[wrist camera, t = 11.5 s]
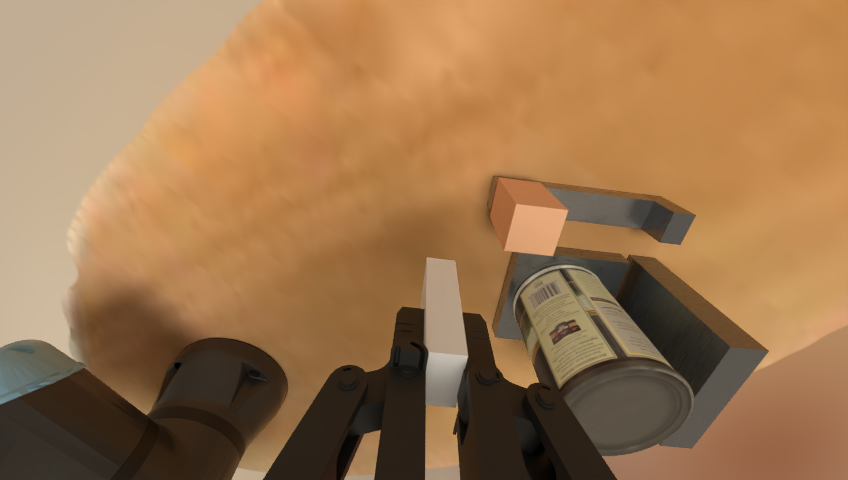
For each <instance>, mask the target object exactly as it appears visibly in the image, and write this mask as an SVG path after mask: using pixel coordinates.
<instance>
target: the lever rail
mask: <svg viewBox="0 0 848 480" xmlns="http://www.w3.org/2000/svg"><path fill="white" fill-rule="evenodd" d="M498 178H506V177H498V176H493V179H492V184H491V188H490V193H489V197H488V202H487V205H488V207H489V209H490V211H491V209H492V205H493V200H494V196H495V191H496V187H497V183H498ZM506 179H514V178H506ZM514 180H522V179H514ZM523 181H530V180H523ZM531 182H538V181H531ZM539 183H541V184H542V185H543V186H544V187H545V188H546V189H547V190H548V191H549V192H550V193H551V194H552V195H554V196H555V197H556V198H557V199H558V200H559V201H560V202H561V203H562V204H563V205H564V206H565V207H566V208H567V209H568V213H567V216H566V219H565V220H571V221H579V222H587V223H596V224H604V225H613V226H621V227H630V228H638V229H642V230H643V231H645V232H646V233H648V234H649V235H650V236H652V237H653V238H654V239H656V240H657V241H658V242H661V243H669V244H678V245H680V244H681V242H682V241H683V239H684V237H685V235H686V233H687V231H688V229H689V227H690V225H691V224H692V222H693V220H694V218H695V216H696V215H695V214H693V213H691V212H689V211H687V210H685V209H683V208H681V207H680V206H678V205H676V204H674V203H672V202H670V201H668V200H666V199H665V198H663V197H660V196H652V195H644V194H636V193H628V192H620V191H612V190H603V189H595V188H587V187H579V186H571V185H563V184H555V183H547V182H539Z"/></svg>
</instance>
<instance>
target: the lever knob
mask: <svg viewBox="0 0 848 480" xmlns="http://www.w3.org/2000/svg"><path fill="white" fill-rule="evenodd" d="M567 213H568V209H567V208H566V207H565V206H564V205H563V204H562V203H561V202H560V201H559V200H558V199H557V198H556V197H555V196H554V195H552V194H551V193H550V192H549V191H548V190H547V189H546V188H545V187H544V186H543V185H542V184H541V183H539V182H531V181H523V180H514V179H506V178H498V183H497V187H496V191H495V196H494V200H493V205H492V209H491V213H490V219H491V221H492V223H493V226H494V228H495V230H496V233H497V235H498V237H499V240H500V242H501V244H502V247H503V249H504V251H512V252H520V253H529V254H538V255H547V256H553V254H554V251H555V249H556V246H557V243H558V240H559V237H560V234H561V231H562V228H563V225H564V222H565V219H566V216H567Z"/></svg>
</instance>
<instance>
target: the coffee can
mask: <svg viewBox="0 0 848 480" xmlns="http://www.w3.org/2000/svg"><path fill="white" fill-rule="evenodd" d="M513 313H514V317H515V319H516V321H517V323H518V325H519V328H520V331H521V333H522V336H523V339H524V342H525V344H526V347H527V350H528V353H529V355H530V358H531V361H532V363H533V366H534V369H535V371H536V374H537V377H538V380H539V383H544V384H546V385H549V386H551V387H552V388H554V389H555V390H557V391H558V392H559V394H560V395H561V396H562V397H563V399H564V400H565V402H566V403H567V405H568V406H569V408H570V409H571V411H572V412H573V414H574V415H575V417H576V418H577V420H578V421H579V423H580V424H581V426H582V427H583V429H584V430H585V432H586V433H587V435H588V436H589V438H590V439H591V441H592V442H593V444H594V445H595V447H596V448H597V450H598V451H599V453H600V455H601V456H616V455H624V454H630V453H634V452H638V451H641V450H644V449H647V448H650V447H652V446H654V445H657V444H659V443H660V442H662V441H664V440H666V439H667V438H669V437H670V436H672V435H673V434H674V433H676V432H677V431H678V430H679V429H680V428H681V427H682V426H683V425H684V424H685V423H686V421H687V420H688V418H689V416H690V415H691V413H692V410H693V407H694V394H693V391H692V389H691V387H690V385H689V384H688V382H687V381H686V380H685V379H684V378H683V377H682V376H681V375H680V374H679V373H678V372H677V371H675V370H674V369H673V368H672V366H671V365H670V364H669V363H668V362H667V361H666V359H665V358H664V357H663V356H662V355H661V353H660V352H659V351H658V350H657V349H656V347H655V346H654V345H653V344H652V343H651V342H650V340H649V339H648V338H647V337H646V336H645V334H644V333H643V332H642V331H641V330H640V328H639V327H638V326H637V325H636V324H635V322H634V321H633V320H632V319H631V318H630V316H629V315H628V314H627V313H626V312H625V311H624V309H623V308H622V307H621V306H620V305H619V303H618V302H617V301H616V300H615V299H614V297H613V296H612V295H611V294H610V293H609V291H608V290H607V289H606V288H605V287H604V286H603V284H602V283H601V281H600V280H599V278H598V277H597V276H596V275H595V274H594V273H592V272H591V271H589V270H587V269H585V268H583V267H580V266H575V265H556V266H552V267H548V268H545V269H543V270H541V271H539V272H537V273H535V274H534V275H532V276H531V277H529V278H528V279H527V280H526V281H525V282H524V283H523V284H522V285H521V287H520V288H519V289H518V291H517V293H516V295H515V298H514V301H513Z"/></svg>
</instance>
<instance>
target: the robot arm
mask: <svg viewBox="0 0 848 480" xmlns="http://www.w3.org/2000/svg"><path fill="white" fill-rule="evenodd" d="M84 367H86V365H85V364H84V363H82V362H76V361H75V360H73V359H72V358H70V357H68V356H67V355H66V354H64V353H63V352H61V351H60V350H58V349H56V348H55V347H54V346H52V345H51V344H49V343H47V342H44V341H40V340H22V341H17V342H14V343H11V344H8V345H6V346H3V347H1V348H0V480H231V479H232V477H233V475H234V473H235V471H236V469H237V467H238V464H239V462H240V460H241V458H242V456H243V454H244V452H245V450H246V448H247V447H248V446H249V444H250V443H251V442H252V441H253V440H254V439H255V438H256V436H257V435H258V434H259V433H260V432H261V431H262V430H263V429H264V427H265V426H266V425H267V424H268V423H269V422H270V421H271V419H272V418H273V417H274V416H275V415H276V414H277V412H278V411H279V409H280V407H281V405H282V402H283V400H284V398H285V396H286V393H287V381H286V377H285V375H284V373H283V371H282V369H281V368H280V367H279V365H278V364H277V363H276V362H275V361H274V360H273V359H272V358H271V357H270V356H268V355H267V354H265V353H264V352H262V351H261V350H259V349H257V348H255V347H253V346H251V345H248V344H246V343H243V342H239V341H235V340H230V339H220V338H215V339H205V340H201V341H197V342H195V343H193V344H191V345H189V346H187V347H186V348H185V349H184V350H183V351H182V352H181V353H180V354H179V355H178V356H177V358H176V359H175V360H174V361H173V362H172V364H171V365H170V367H169V368H168V370H167V373H166V375H165V378H164V380H163V382H162V385H161V387H160V390H159V392H158V395H157V397H156V400H155V402H154V405H153V407H152V409H151V411H150V413H149V414H148V415H147V416H146V415H145V414H144V413H142V412H141V411H140V410H138V409H137V408H135V407H134V406H133V405H132V404H130V403H129V402H128V401H126V400H125V399H124V398H123V397H121V396H120V395H119V394H117V393H116V392H115V391H114V390H112V389H111V388H110V387H108V386H107V385H106V384H105V383H103V382H102V381H101V380H99V379H98V378H97V377H96V376H94V375H93V374H92V373H90V372H89V371H88V370H87V369H85V368H84ZM457 399H458V414H457V418H456V422H455V426H454V430H453V434H455V435H456V432H457V439H458V453H459V467H460V480H617V479H616V477H615V476H614V474H613V473H612V471H611V470H610V468H609V467H608V465H607V464H606V462H605V461H604V459H603V458H602V456H601V455H600V453H599V451H598V450H597V448H596V447H595V445H594V444H593V442H592V441H591V439H590V438H589V436H588V435H587V433H586V432H585V430H584V429H583V427H582V426H581V424H580V423H579V421H578V420H577V418H576V417H575V415H574V414H573V412H572V411H571V409H570V408H569V406H568V405H567V403H566V402H565V400H564V399H563V397H562V396H561V395H560V394H559V392H558V391H557V390H555V389H554V388H552V387H551V386H549V385H546V384H544V383H534V384H531V385H530V386H529V387H528V388H527V389H526V388H524V387H521V386H518V385H516V384H513V383H511V382H509V381H508V380H506V379H505V378H504V377H503V375H502V373H501V372H500V371H499V370H498V368H497V367H496V365H495V360H494V356H493V351H492V347H491V342H490V340H489V334H488V329H487V325H486V322H485V320H484V319H483V318H482V317H481V315H480V314H473V313H463V312H462V307H461V299H460V292H459V285H458V277H457V270H456V262H455V260H446V259H437V258H428V257H427V260H426V267H425V274H424V281H423V288H422V295H421V307H420V309H419V308H409V307H402V308H401V309H400V311H399V312H398V313H397V317H396V324H395V332H394V339H393V346H392V349H391V356H390V361H389V362H388V364H386V365H385V366H384V367H383V368H381V369H379V370H375V371H371V372H365V371H364V370H363V369H362V368H360V367H358V366H354V365H346V366H342V367H340V368H338V369H336V370H335V371H334V372H333V373H332V374H331V375H330V376H329V378H328V379H327V381H326V382H325V384H324V386H323V387H322V389H321V390H320V392H319V393H318V395H317V396H316V398H315V400H314V401H313V403H312V404H311V406H310V407H309V409H308V410H307V412H306V414H305V415H304V417H303V418H302V420H301V421H300V423H299V424H298V426H297V427H296V429H295V431H294V432H293V434H292V435H291V437H290V438H289V440H288V441H287V443H286V445H285V446H284V448H283V449H282V451H281V452H280V454H279V455H278V457H277V458H276V460H275V462H274V463H273V465H272V466H271V468H270V469H269V471H268V472H267V474H266V476H265V478H264V479H263V480H344V478H345V476H346V474H347V472H348V469H349V467H350V465H351V462H352V460H353V458H354V456H355V453H356V451H357V449H358V447H359V444H360V442H361V440H362V437H363V435H364V434H365V433H369V432H374V431H378V430H381V433H380V441H379V448H378V456H377V463H376V471H375V479H374V480H425V414H426V405H434V406H444V407H456V403H457Z"/></svg>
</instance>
